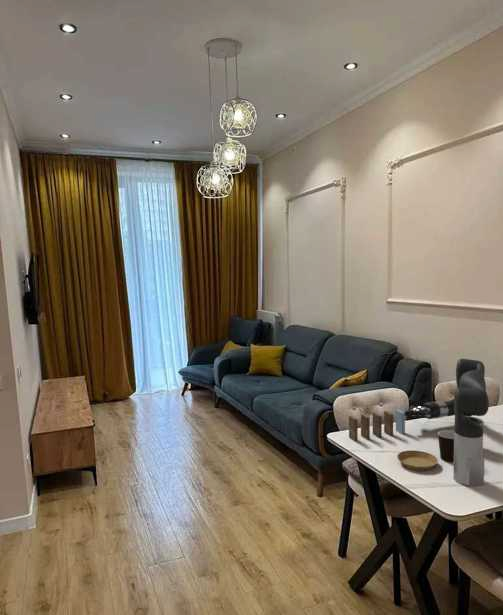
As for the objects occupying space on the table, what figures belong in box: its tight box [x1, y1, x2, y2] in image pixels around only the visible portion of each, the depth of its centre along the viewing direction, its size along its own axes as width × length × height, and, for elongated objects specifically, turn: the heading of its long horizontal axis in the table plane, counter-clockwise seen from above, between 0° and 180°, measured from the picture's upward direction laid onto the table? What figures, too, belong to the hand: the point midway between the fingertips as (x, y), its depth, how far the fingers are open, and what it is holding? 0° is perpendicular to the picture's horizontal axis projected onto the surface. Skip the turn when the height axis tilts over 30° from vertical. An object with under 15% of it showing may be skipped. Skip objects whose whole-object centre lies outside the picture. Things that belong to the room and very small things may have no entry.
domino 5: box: [395, 409, 406, 435], centre depth 206 cm, size 2×5×10 cm, turn 16°
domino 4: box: [383, 410, 394, 437], centre depth 205 cm, size 2×5×10 cm, turn 16°
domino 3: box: [372, 411, 383, 438], centre depth 203 cm, size 2×5×10 cm, turn 16°
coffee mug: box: [437, 430, 454, 463], centre depth 178 cm, size 12×9×10 cm
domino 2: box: [360, 413, 371, 440], centre depth 201 cm, size 2×5×10 cm, turn 16°
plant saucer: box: [397, 449, 438, 471], centre depth 174 cm, size 15×15×3 cm
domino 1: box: [348, 415, 359, 442], centre depth 200 cm, size 2×5×10 cm, turn 16°
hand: (404, 413), depth 206 cm, fingers closed
